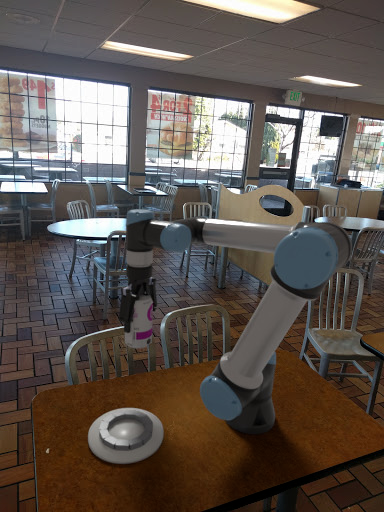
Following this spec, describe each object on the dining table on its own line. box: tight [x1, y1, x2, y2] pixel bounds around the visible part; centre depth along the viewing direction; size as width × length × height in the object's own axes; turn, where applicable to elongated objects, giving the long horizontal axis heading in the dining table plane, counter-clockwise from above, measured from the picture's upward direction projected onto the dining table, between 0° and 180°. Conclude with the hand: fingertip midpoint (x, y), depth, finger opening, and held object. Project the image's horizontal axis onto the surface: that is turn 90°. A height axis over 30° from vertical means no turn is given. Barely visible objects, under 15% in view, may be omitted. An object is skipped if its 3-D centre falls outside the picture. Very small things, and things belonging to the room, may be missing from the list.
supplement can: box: [124, 294, 154, 349], centre depth 116 cm, size 8×8×15 cm
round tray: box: [87, 407, 164, 465], centre depth 105 cm, size 20×20×3 cm
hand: (138, 335), depth 118 cm, fingers closed on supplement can, 8 cm apart
